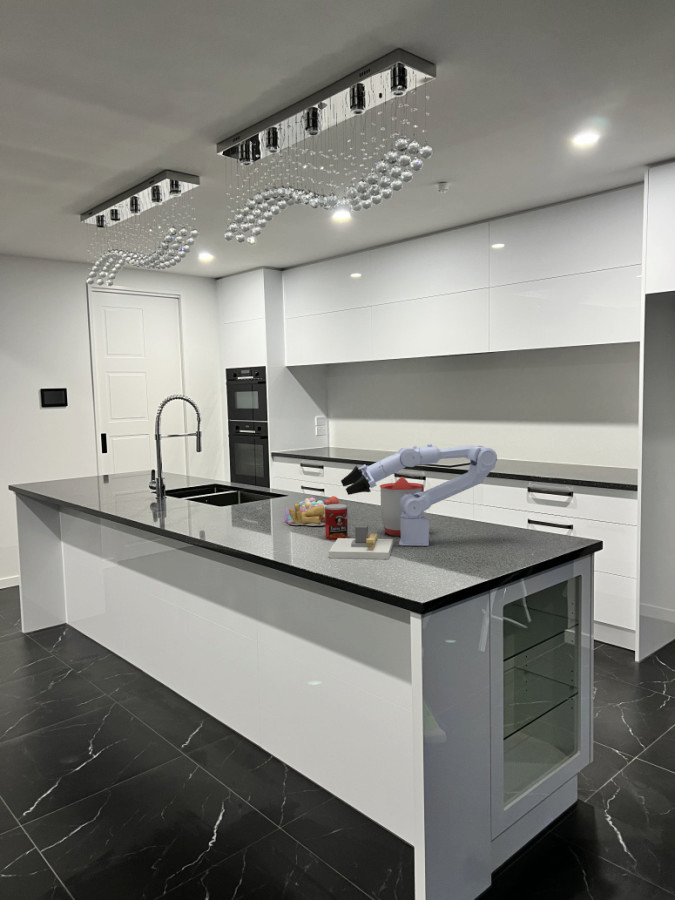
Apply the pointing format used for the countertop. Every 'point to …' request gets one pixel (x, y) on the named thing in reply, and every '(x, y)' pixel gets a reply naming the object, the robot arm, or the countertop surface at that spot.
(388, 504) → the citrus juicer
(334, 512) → the canned food
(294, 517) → the candy landscape model
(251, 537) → the countertop surface
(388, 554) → the socket board
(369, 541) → the clip
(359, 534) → the plug
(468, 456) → the robot arm
